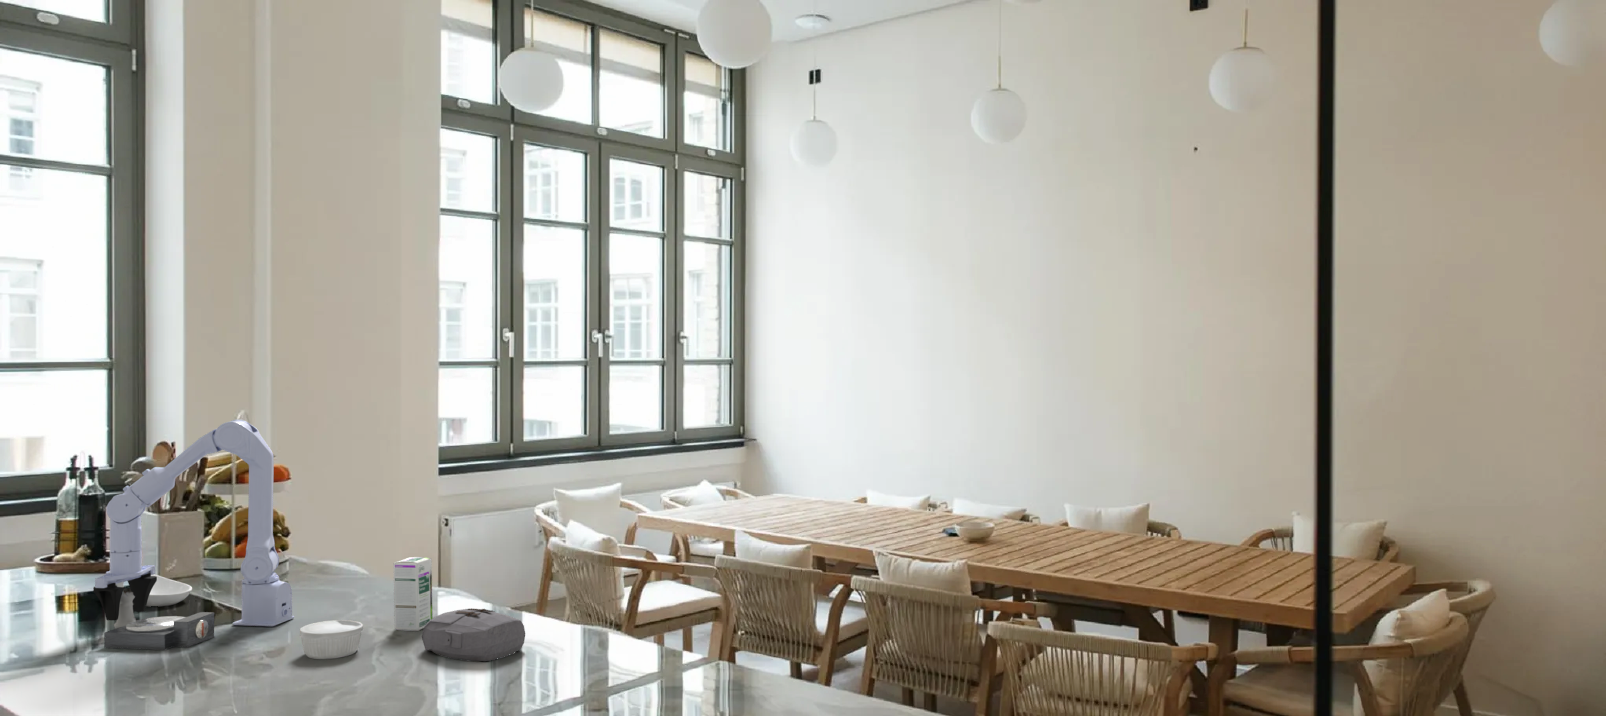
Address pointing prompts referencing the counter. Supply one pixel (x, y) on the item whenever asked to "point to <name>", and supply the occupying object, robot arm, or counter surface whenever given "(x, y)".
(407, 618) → the syrup box
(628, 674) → the counter surface
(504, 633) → the grey rounded bag
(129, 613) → the rook chess piece
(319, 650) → the ramekin
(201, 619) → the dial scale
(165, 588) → the spoon rest
